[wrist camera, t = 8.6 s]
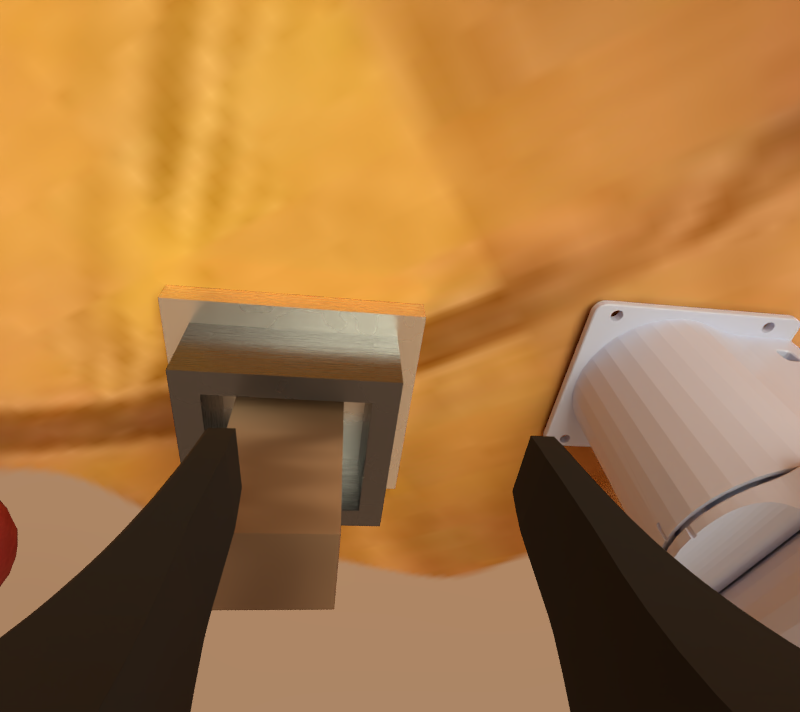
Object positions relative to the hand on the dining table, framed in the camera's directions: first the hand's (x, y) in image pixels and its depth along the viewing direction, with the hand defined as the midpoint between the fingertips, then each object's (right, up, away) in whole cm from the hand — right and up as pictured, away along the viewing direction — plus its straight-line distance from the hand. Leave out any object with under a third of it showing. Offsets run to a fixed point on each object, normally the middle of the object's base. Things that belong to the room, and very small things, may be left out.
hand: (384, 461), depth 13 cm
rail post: (-4, 0, +9) cm, 10 cm away
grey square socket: (-4, +1, +10) cm, 11 cm away
